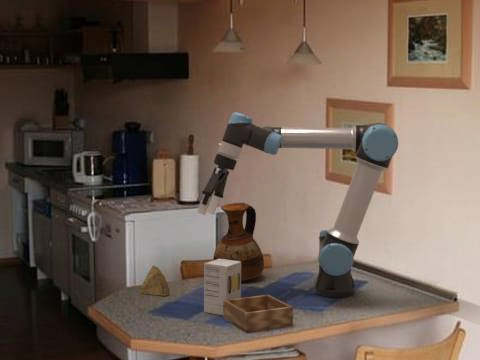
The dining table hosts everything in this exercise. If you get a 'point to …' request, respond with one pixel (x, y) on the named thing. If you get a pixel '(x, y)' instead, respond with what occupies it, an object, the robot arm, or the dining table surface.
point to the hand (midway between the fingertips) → (205, 213)
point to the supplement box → (221, 284)
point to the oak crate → (257, 313)
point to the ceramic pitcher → (241, 241)
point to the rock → (155, 283)
